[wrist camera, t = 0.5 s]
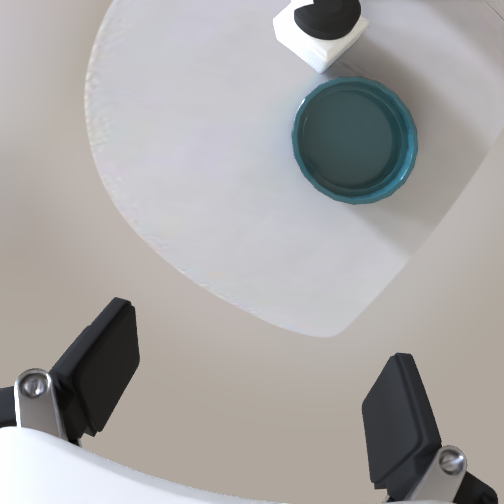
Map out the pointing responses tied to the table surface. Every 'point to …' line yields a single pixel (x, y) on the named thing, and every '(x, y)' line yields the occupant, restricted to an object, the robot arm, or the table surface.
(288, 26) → the medicine bottle
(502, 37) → the table surface
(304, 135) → the dish
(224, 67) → the table surface
